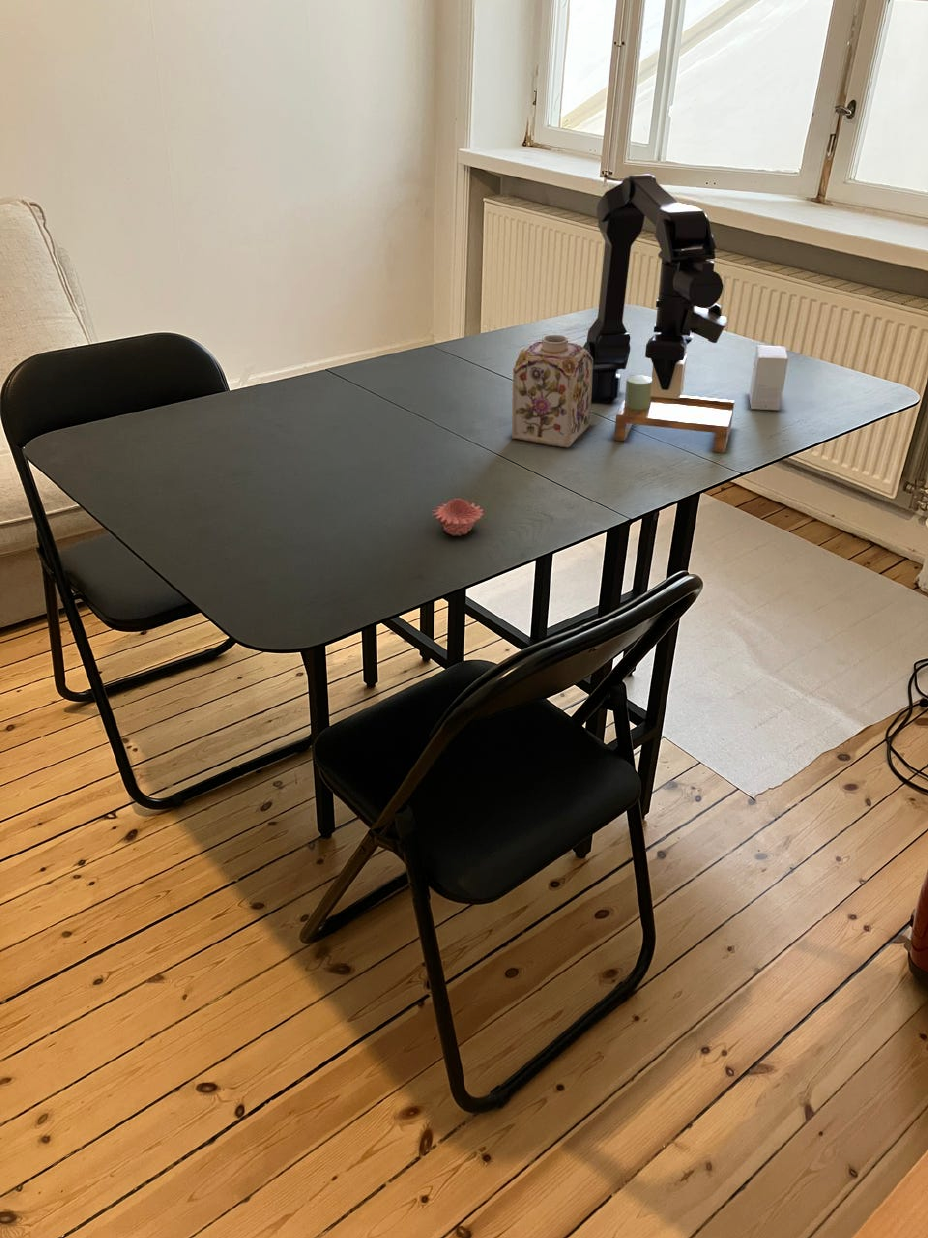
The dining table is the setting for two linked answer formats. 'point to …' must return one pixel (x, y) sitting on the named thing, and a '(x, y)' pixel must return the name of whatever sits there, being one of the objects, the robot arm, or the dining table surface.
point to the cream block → (675, 384)
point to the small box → (768, 377)
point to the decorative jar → (552, 392)
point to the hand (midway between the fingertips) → (667, 384)
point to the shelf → (680, 417)
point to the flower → (458, 516)
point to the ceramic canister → (638, 392)
